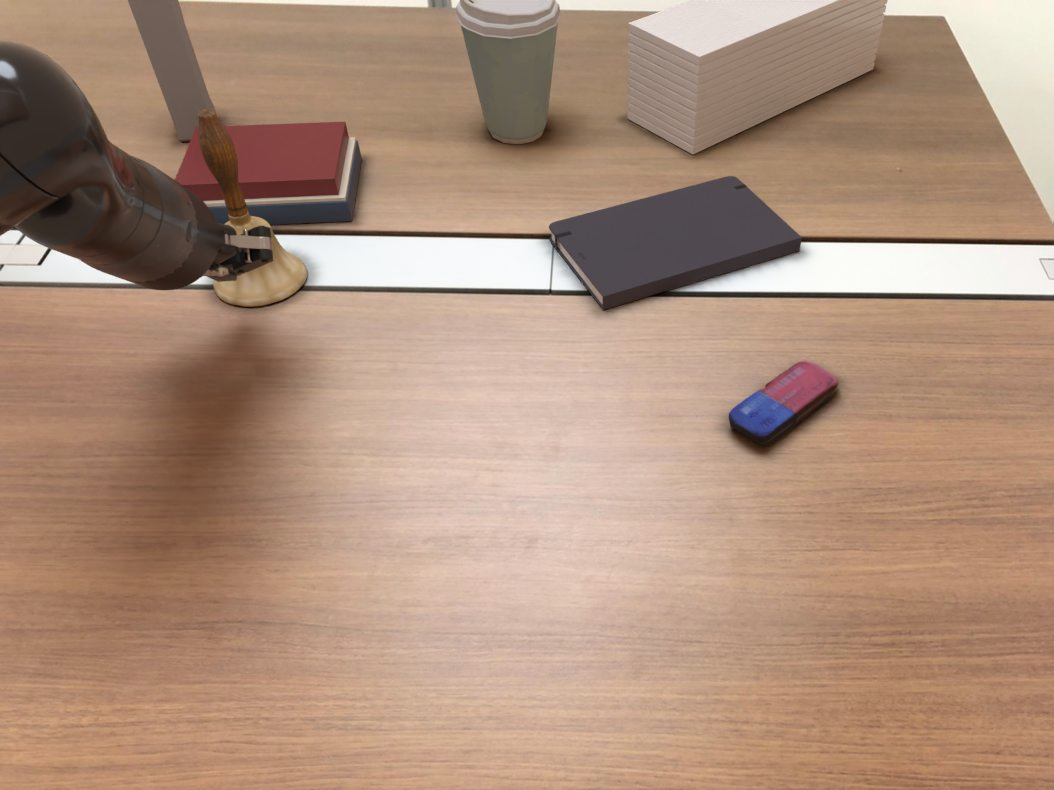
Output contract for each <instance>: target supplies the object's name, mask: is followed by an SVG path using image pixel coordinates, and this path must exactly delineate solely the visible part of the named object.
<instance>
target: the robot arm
mask: <svg viewBox="0 0 1054 790" xmlns="http://www.w3.org/2000/svg"><path fill="white" fill-rule="evenodd" d="M14 228H16V230H17V231H19V232H20V233H21V234H22V235H24V236H25V237H27V238H28V239H29V240H31V241H33V242H34V243H36V244H39V245H40V246H43V247H45V248H48V249H49V250H52V251H55V252H58V253H60V254H63V255H66V256H69V257H71V258H73V259H76V260H79V261H80V262H82V263H84V264H85V265H87V266H88V267H90V268H92V269H95V270H97V271H99V272H101V273H104V274H107V275H108V276H112V277H115V278H118V279H121V280H123V281H126V282H129V283H132V284H135V285H138V286H140V287H143V288H146V289H151V290H155V291H175V290H179V289H183V288H186V287H187V286H190V285H192V284H193V283H195V282H196V281H198V280H199V279H201V278H203V277H206V278H209V279H211V280H213V281H214V280H216V281H218V282H221V281H236V280H237V275H241V274H244V273H245V272H249V271H252V270H254V269H256V268H258V267H261V266H263V265H265V264H268V263H270V262H272V261H273V250H272V239H271V229H270V228H269V227H265V226H262V225H261V226H258V227H254V228H252V229H250V230H248V229H244V230H242V231H243V233H242V234H241V235H237V233H236V231H235V229H234V228H233V227H231V226H229V225H226V224H221V223H218V222H217V220H216V219H215V217H214V216H213V214H212V212H211V211H210V209H209V208H208V207H207V205H206V204H205V203H204V202H203V200H202V199H201V198H200V197H198V196H197V195H196V194H195V193H193V192H192V191H190V190H189V189H187V188H186V187H184V186H183V185H181V184H180V183H178V182H177V181H175V178H173V177H171V176H169V175H168V174H167V173H165V172H163V171H162V170H161V169H159V168H157V167H156V166H154V165H153V164H151V163H149V162H147V161H145V160H143V159H141V158H139V157H136V156H134V155H132V154H129V153H128V152H126V151H124V150H123V149H121V148H120V147H118V146H117V145H115V144H113V143H112V142H111V141H110V140H109V138H108V136H107V134H106V131H105V129H104V127H103V125H102V123H101V121H100V119H99V117H98V115H97V113H96V112H95V110H94V108H93V106H92V105H91V103H90V102H89V100H88V98H87V96H86V95H85V93H84V92H83V91H82V89H81V87H80V86H79V85H78V84H77V83H76V81H75V80H74V79H73V78H72V77H71V75H70V74H68V72H67V71H66V70H65V69H64V68H63V67H62V66H61V65H60V64H58V63H57V62H56V61H55V60H53V59H52V58H51V57H50V56H49V55H47V54H45V53H44V52H43V51H40V50H38V49H36V48H35V47H34V46H33V47H32V46H30V45H27V44H24V43H21V42H15V41H10V40H0V237H1V236H3V235H5V234H6V233H8V232H9V231H11V230H13V229H14Z"/></svg>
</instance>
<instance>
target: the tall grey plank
mask: <svg viewBox="0 0 1054 790" xmlns="http://www.w3.org/2000/svg"><path fill="white" fill-rule="evenodd" d="M127 2H128V5H129V7H130V10H131V13H132V15H133V19H134V21H135V23H136V27H137V29H138V32H139V34H140V37H141V40H142V42H143V45H144V48H145V51H146V53H147V56H148V59H149V61H150V63H151V67H152V69H153V72H154V74H155V75H154V76H155V77H156V81H157V84H158V86H159V88H160V91H161V93H162V96H163V99H164V101H165V102H164V103H165V104H166V106H167V110H168V112H169V115H170V117H171V120H172V123H173V126H174V129H175V131H176V134H177V137H178V139H179V140H180V141H181V142H183V143H184V142H190V141H191V138H192V136H193V134H194V131H195V129H196V127H199V119H198V113H199V111H201V110H204V109H212V110H214V111H215V113H216V115H217V116H218V113H217V110H216V107H215V105H214V103H213V100H212V99H211V97H210V95H209V91H208V89H207V85H206V83H205V79H204V77H203V74H202V71H201V67H200V65H199V61H198V59H197V55H196V52H195V50H194V47H193V43H192V40H191V38H190V34H189V31H188V29H187V26H186V23H185V19H184V14H183V11H182V7H181V5H180V1H179V0H127Z"/></svg>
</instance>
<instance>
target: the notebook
mask: <svg viewBox="0 0 1054 790" xmlns="http://www.w3.org/2000/svg"><path fill="white" fill-rule="evenodd" d="M548 229H549V231H550V232H551V235H550V236H549V241H550V243H551V245H552V246H553V247H554V248H555V250H556V251H557V253H558V254H559V255H560V256H561V258H562V259H563V260H564V261H565V262H566V264H567V265H568V267H569V268H570V269H571V270H572V271H573V273H574V274H575V276H576V277H577V278H578V280H579V281H580V282H581V284H582V285H583V286H584V287H585V288H586V290H587V291H588V292H589V294H590V295H591V296H592V298H593V299H594V300H595V301H596V303H597V304H598V305H599V306H600V308H601V309H602V310H603V311H604V310H607V309H611V308H614V307H618V306H622V305H624V304H628V303H632V302H634V301H638V300H641V299H644V298H648V297H651V296H654V295H657V294H661V293H664V292H667V291H671V290H674V289H677V288H682V287H684V286H688V285H690V284H694V283H697V282H700V281H704V280H707V279H710V278H714V277H717V276H721V275H725V274H727V273H730V272H731V273H732V272H733V271H737V270H740V269H745V268H747V267H750V266H753V265H757V264H759V263H763V262H764V263H765V262H767V261H770V260H774V259H777V258H780V257H783V256H786V255H790V254H793V253H797V252H799V251H801V245H802V240H803V237H802V236H801V235H800V234H799V233H798V232H797V231H796V230H795V229H793V228H792V226H790V225H789V224H788V223H787V222H786V221H785V220H784V219H783V218H782V217H780V216H779V215H778V214H777V213H776V212H775V211H774V210H773V209H772V208H771V207H770V206H769V205H767V204H766V203H765V202H764V201H763V200H762V199H761V198H760V197H759V196H758V195H757V194H755V193H754V191H752V190H751V189H750V188H749V187H748V186H747V185H746V183H744V182H743V181H742V180H740V179H739V178H738V177H736V176H734V175H727V176H723V177H718V178H715V179H712V180H708V181H704V182H700V183H696V184H693V185H688V186H684V187H681V188H677V189H674V190H669V191H666V192H662V193H659V194H658V193H657V194H655V195H651V196H647V197H643V198H640V199H635V200H632V201H628V202H624V203H621V204H617V205H613V206H609V207H606V208H602V209H598V210H594V211H590V212H586V213H582V214H579V215H574V216H571V217H567V218H564V219H559V220H555V221H554V222H551V223H549V225H548Z"/></svg>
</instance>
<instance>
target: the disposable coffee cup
mask: <svg viewBox="0 0 1054 790" xmlns="http://www.w3.org/2000/svg"><path fill="white" fill-rule="evenodd" d="M560 7H561V6H560V4H559V3H558V2H557V0H459V1H458V3H457V4H456V6H455V18H456V20H457V21H458V23H459V24H460V27H461V32H462V35H463V39H464V43H465V44H464V45H465V48H466V52H467V56H468V60H469V64H470V68H471V71H472V76H473V80H474V84H475V88H476V93H477V96H478V101H479V104H480V108H481V112H482V116H483V120H484V124H485V126H486V128H487V129H488V132H489V133H490V135H491V137H492V139H494V140H497V141H499V142H500V143H503V144H511V145H522V144H528V143H533V142H534V141H536V140H537V139H539V138H541V137H542V136H543V133H544V131H545V128H546V126H547V123H548V114H549V106H550V97H551V88H552V79H553V69H554V62H555V52H556V42H557V34H558V25H559V19H560V18H561V15H562V13H561V9H560Z"/></svg>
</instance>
